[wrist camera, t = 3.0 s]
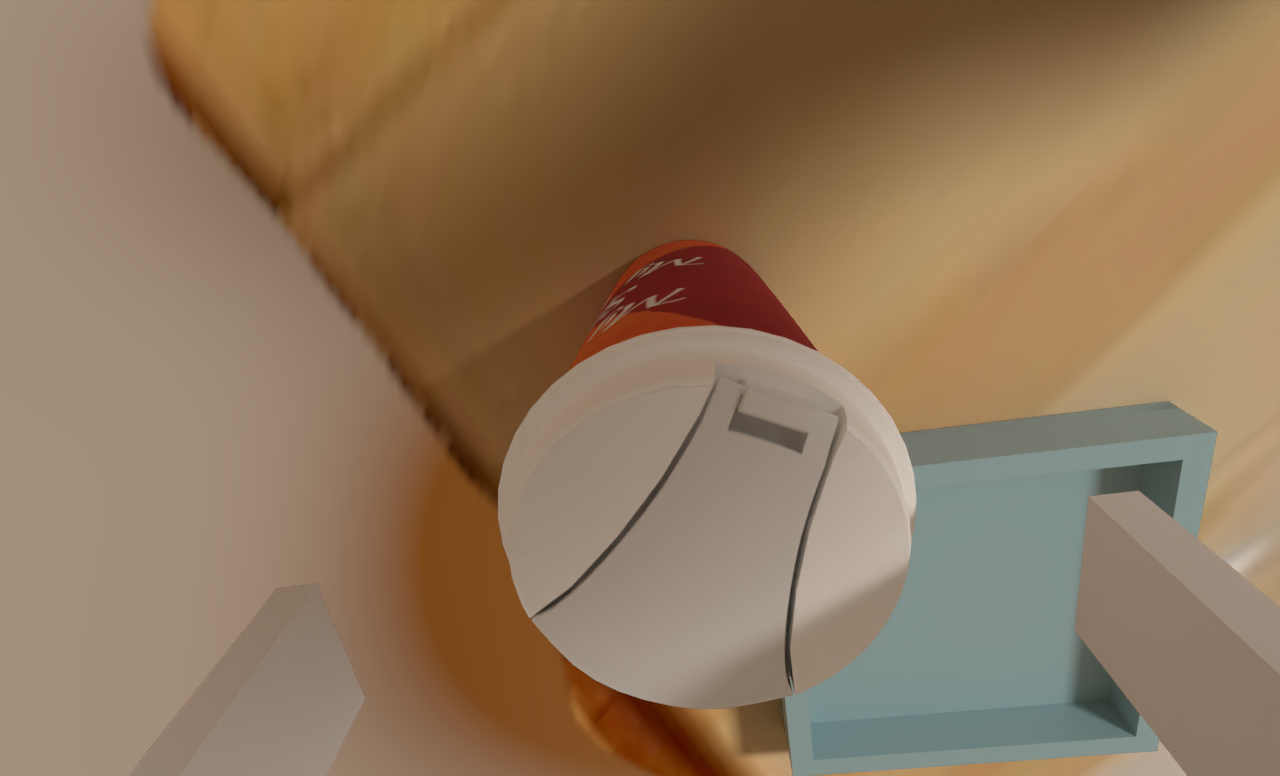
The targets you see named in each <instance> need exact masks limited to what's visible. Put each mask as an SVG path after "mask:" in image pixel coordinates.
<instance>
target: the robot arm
mask: <svg viewBox="0 0 1280 776" xmlns="http://www.w3.org/2000/svg"><path fill="white" fill-rule="evenodd" d="M1075 631H1076V632H1077V634H1078V635H1079V636H1080V638H1081V639H1082V640H1083V641H1084V643H1085V644H1086V645H1087V647H1088V648H1089V649H1090V650H1091V652H1092V653H1093V654H1094V656H1095V657H1096V658H1097V660H1098V661H1099V662H1100V663H1101V665H1102V666H1103V667H1104V669H1105V670H1106V671H1107V672H1108V674H1109V675H1110V676H1111V678H1112V679H1113V680H1114V681H1115V683H1116V684H1117V685H1118V687H1119V688H1120V689H1121V691H1122V692H1123V693H1124V694H1125V696H1126V697H1127V698H1128V700H1129V701H1130V702H1131V703H1132V705H1133V706H1134V707H1135V709H1136V710H1137V711H1138V712H1139V714H1140V715H1141V716H1142V718H1143V719H1144V720H1145V721H1146V723H1147V724H1148V725H1149V727H1150V728H1151V729H1152V731H1153V732H1154V733H1155V734H1156V736H1157V737H1158V738H1159V740H1160V741H1161V742H1162V743H1163V745H1164V746H1165V747H1166V749H1167V750H1168V751H1169V752H1170V754H1171V755H1172V756H1173V758H1174V759H1175V760H1176V762H1177V763H1178V764H1179V765H1180V767H1181V768H1182V769H1183V771H1184V772H1185V773H1186V774H1187V776H1280V606H1279V605H1277V604H1276V603H1275V602H1274V601H1272V600H1271V599H1270V598H1269V597H1268V596H1266V595H1265V594H1264V593H1263V592H1261V591H1260V590H1259V589H1258V588H1257V587H1255V586H1254V585H1253V584H1252V583H1251V582H1249V581H1248V580H1247V579H1246V578H1244V577H1243V576H1242V575H1241V574H1240V573H1238V572H1237V571H1236V570H1235V569H1234V568H1232V567H1231V566H1230V565H1229V564H1227V563H1226V562H1225V561H1224V560H1223V559H1221V558H1220V557H1219V556H1218V555H1217V554H1215V553H1214V552H1213V551H1212V550H1210V549H1209V548H1208V547H1207V546H1206V545H1204V544H1203V543H1202V542H1201V541H1199V540H1198V539H1197V538H1196V537H1195V536H1193V535H1192V534H1191V533H1190V532H1189V531H1187V530H1186V529H1185V528H1184V527H1182V526H1181V525H1180V524H1179V523H1178V522H1176V521H1175V520H1174V519H1173V518H1172V517H1170V516H1169V515H1168V514H1167V513H1165V512H1164V511H1163V510H1162V509H1161V508H1159V507H1158V506H1157V505H1156V504H1155V503H1153V502H1152V501H1151V500H1150V499H1148V498H1147V497H1146V496H1145V495H1144V494H1142V493H1141V492H1140V491H1131V492H1122V493H1113V494H1104V495H1096V496H1089V498H1088V507H1087V517H1086V526H1085V536H1084V545H1083V555H1082V564H1081V574H1080V583H1079V593H1078V602H1077V612H1076V621H1075ZM364 700H365V697H364V695H363V692H362V690H361V687H360V685H359V682H358V680H357V678H356V676H355V673H354V670H353V668H352V666H351V663H350V661H349V658H348V656H347V654H346V651H345V649H344V646H343V644H342V642H341V639H340V637H339V634H338V632H337V630H336V627H335V625H334V622H333V620H332V618H331V615H330V613H329V610H328V608H327V606H326V603H325V601H324V598H323V596H322V594H321V591H320V589H319V586H318V584H310V585H300V586H292V587H283V588H277V589H276V590H275V591H274V593H273V594H272V595H271V596H270V598H269V599H268V600H267V601H266V603H265V604H264V605H263V606H262V608H261V609H260V610H259V612H258V613H257V614H256V615H255V616H254V618H253V619H252V620H251V622H250V623H249V624H248V625H247V627H246V628H245V629H244V630H243V632H242V633H241V634H240V635H239V637H238V638H237V639H236V640H235V642H234V643H233V644H232V646H231V647H230V648H229V649H228V651H227V652H226V653H225V654H224V656H223V657H222V658H221V659H220V661H219V662H218V663H217V664H216V666H215V667H214V668H213V670H212V671H211V672H210V673H209V674H208V676H207V677H206V678H205V680H204V681H203V682H202V683H201V685H200V686H199V687H198V688H197V690H196V691H195V692H194V693H193V695H192V696H191V697H190V698H189V700H188V701H187V702H186V703H185V705H184V706H183V707H182V708H181V710H180V711H179V712H178V714H177V715H176V716H175V717H174V719H173V720H172V721H171V722H170V724H169V725H168V726H167V727H166V729H165V730H164V731H163V733H162V734H161V735H160V736H159V738H158V739H157V740H156V741H155V742H154V744H153V745H152V746H151V748H150V749H149V750H148V751H147V753H146V754H145V755H144V756H143V758H142V759H141V760H140V761H139V763H138V764H137V765H136V767H135V768H134V769H133V770H132V771H131V773H130V774H129V776H327V774H328V772H329V769H330V768H331V766H332V764H333V762H334V760H335V757H336V756H337V754H338V752H339V750H340V748H341V746H342V744H343V742H344V740H345V738H346V736H347V734H348V732H349V730H350V728H351V726H352V724H353V722H354V720H355V718H356V716H357V713H358V712H359V710H360V708H361V706H362V704H363V702H364Z"/></svg>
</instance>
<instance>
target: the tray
mask: <svg viewBox="0 0 1280 776" xmlns="http://www.w3.org/2000/svg"><path fill="white" fill-rule="evenodd" d="M900 435H901V437H902V439H903V441H904V443H905V445H906V447H907V451H908V454H909V458H910V461H911V465H912V468H913V472H914V477H915V489H916V501H917V505H916V514H915V524H914V532H913V535H912V539H911V541H912V542H911V552H910V562H909V570H908V573H907V576H906V580H905V583H904V586H903V590H902V593H901V596H900V598H899V600H898V602H897V604H896V606H895V608H894V610H893V612H892V614H891V616H890V618H889V620H888V622H887V623H886V624H885V626H884V627H883V628H882V630H881V631H880V632H879V634H878V635H877V636H876V638H875V639H874V641H873V642H872V643H871V644H870V645H869V646H868V647H867V648H866V649H865V650H864V651H863V652H862V653H861V654H860V655H859V656H858V657H857V658H856V659H855V660H854V661H853V662H851V663H850V664H849V665H847V666H846V667H844V668H843V669H842V670H840V671H839V672H838V673H836V674H835V675H833V676H832V677H831V678H829V679H827V680H825V681H823V682H821V683H820V684H818V685H816V686H814V687H812V688H810V689H808V690H806V691H804V692H801V693H799V694H796V695H795V693H794V689H793V685H792V681H791V678H790V682H791V687H792V691H793V695H792V696H789V697H784V698H781V700H782V710H783V719H784V728H785V734H786V740H787V746H788V751H789V757H790V763H791V768H792V774H793V776H810V775H824V774H838V773H852V772H867V771H881V770H895V769H909V768H923V767H937V766H952V765H966V764H980V763H994V762H1008V761H1022V760H1037V759H1051V758H1065V757H1079V756H1093V755H1107V754H1122V753H1136V752H1150V751H1157V749H1158V744H1159V738H1158V737H1157V736H1156V734H1155V733H1154V732H1153V731H1152V729H1151V728H1150V727H1149V725H1148V724H1147V723H1146V721H1145V720H1144V719H1143V718H1142V716H1141V715H1140V714H1139V712H1138V711H1137V710H1136V709H1135V707H1134V706H1133V705H1132V703H1131V702H1130V701H1129V700H1128V698H1127V697H1126V696H1125V694H1124V693H1123V692H1122V691H1121V689H1120V688H1119V687H1118V685H1117V684H1116V683H1115V681H1114V680H1113V679H1112V678H1111V676H1110V675H1109V674H1108V672H1107V671H1106V670H1105V669H1104V667H1103V666H1102V665H1101V663H1100V662H1099V661H1098V660H1097V658H1096V657H1095V656H1094V654H1093V653H1092V652H1091V650H1090V649H1089V648H1088V647H1087V645H1086V644H1085V643H1084V641H1083V640H1082V639H1081V638H1080V636H1079V635H1078V634H1077V632H1076V631H1075V621H1076V612H1077V602H1078V593H1079V583H1080V574H1081V564H1082V555H1083V545H1084V536H1085V526H1086V517H1087V507H1088V498H1089V496H1096V495H1104V494H1113V493H1122V492H1131V491H1140V492H1141V493H1142V494H1144V495H1145V496H1146V497H1147V498H1148V499H1150V500H1151V501H1152V502H1153V503H1155V504H1156V505H1157V506H1158V507H1159V508H1161V509H1162V510H1163V511H1164V512H1165V513H1167V514H1168V515H1169V516H1170V517H1172V518H1173V519H1174V520H1175V521H1176V522H1178V523H1179V524H1180V525H1181V526H1182V527H1184V528H1185V529H1186V530H1187V531H1189V532H1190V533H1191V534H1192V535H1193V536H1195V537H1196V538H1197V537H1198V532H1199V527H1200V521H1201V516H1202V511H1203V505H1204V500H1205V495H1206V490H1207V484H1208V479H1209V474H1210V468H1211V463H1212V458H1213V453H1214V447H1215V442H1216V437H1217V431H1215V430H1214V429H1212V428H1210V427H1209V426H1207V425H1206V424H1204V423H1202V422H1201V421H1199V420H1198V419H1196V418H1194V417H1193V416H1191V415H1190V414H1188V413H1186V412H1185V411H1183V410H1182V409H1180V408H1178V407H1177V406H1175V405H1174V404H1172V403H1170V402H1169V401H1167V402H1159V403H1150V404H1142V405H1134V406H1125V407H1117V408H1108V409H1100V410H1091V411H1083V412H1075V413H1066V414H1058V415H1049V416H1041V417H1033V418H1024V419H1016V420H1007V421H999V422H990V423H982V424H974V425H965V426H957V427H948V428H940V429H931V430H923V431H915V432H906V433H900Z"/></svg>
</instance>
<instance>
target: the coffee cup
mask: <svg viewBox="0 0 1280 776" xmlns="http://www.w3.org/2000/svg"><path fill="white" fill-rule="evenodd" d="M916 505H917V501H916V489H915V477H914V472H913V468H912V465H911V461H910V458H909V454H908V451H907V447H906V445H905V443H904V441H903V439H902V437H901V435H900V433H899V431H898V429H897V427H896V425H895V423H894V421H893V419H892V418H891V416H890V415H889V414H888V412H887V411H886V410H885V409H884V407H883V406H882V405H881V403H880V402H879V401H878V399H877V398H876V397H875V396H874V394H873V393H872V392H871V391H870V390H869V389H868V388H867V387H866V386H864V385H863V384H862V383H861V382H860V381H859V380H858V379H857V378H856V377H855V376H853V375H852V374H851V373H850V372H849V371H848V370H847V369H845V368H843V367H842V366H840V365H839V364H837V363H836V362H834V361H832V360H831V359H829V358H828V357H826V356H825V355H823V354H821V353H820V352H818V351H817V349H816V348H815V347H814V346H813V344H812V343H811V342H810V340H809V339H808V338H807V336H806V335H805V334H804V333H803V331H802V330H801V329H800V327H799V326H798V325H797V323H796V322H795V321H794V319H793V318H792V317H791V316H790V314H789V313H788V312H787V310H786V309H785V308H784V307H783V305H782V304H781V303H780V302H779V300H778V299H777V298H776V296H775V295H774V294H773V293H772V291H771V290H770V289H769V288H768V286H767V285H766V284H765V283H764V282H763V280H762V279H761V278H760V277H759V276H758V274H757V273H756V272H755V271H754V270H753V269H752V268H751V267H750V266H749V265H748V264H747V263H746V262H745V261H744V260H743V259H741V258H740V257H739V256H738V255H736V254H735V253H733V252H732V251H730V250H728V249H726V248H724V247H722V246H719V245H717V244H713V243H710V242H705V241H699V240H681V241H675V242H670V243H666V244H663V245H660V246H658V247H656V248H654V249H652V250H650V251H648V252H646V253H645V254H643V255H642V256H641V257H639V258H638V259H637V260H636V261H635V262H634V263H632V265H631V266H630V267H629V268H628V269H627V270H626V271H625V273H624V274H623V275H622V276H621V278H620V279H619V281H618V282H617V284H616V285H615V287H614V289H613V290H612V292H611V294H610V296H609V297H608V299H607V301H606V303H605V304H604V306H603V308H602V310H601V311H600V313H599V315H598V317H597V319H596V321H595V322H594V324H593V326H592V328H591V330H590V332H589V333H588V335H587V337H586V339H585V341H584V343H583V345H582V346H581V348H580V350H579V352H578V354H577V356H576V358H575V360H574V361H573V363H572V365H571V367H570V369H569V371H568V372H567V373H566V374H565V375H563V376H562V377H561V378H560V379H558V380H557V381H556V382H555V383H553V384H552V385H551V386H550V387H549V388H548V390H547V391H546V392H545V393H544V394H543V395H542V396H541V397H540V398H539V400H538V401H537V402H536V403H535V404H534V405H533V406H532V407H531V409H530V410H529V412H528V413H527V415H526V417H525V418H524V420H523V422H522V423H521V425H520V426H519V428H518V430H517V431H516V433H515V435H514V437H513V440H512V442H511V445H510V447H509V450H508V452H507V455H506V457H505V460H504V462H503V467H502V472H501V478H500V483H499V488H498V521H499V526H500V532H501V537H502V543H503V547H504V549H505V552H506V555H507V557H508V560H509V563H510V568H511V574H512V580H513V583H514V585H515V588H516V591H517V593H518V596H519V599H520V601H521V604H522V606H523V608H524V610H525V611H526V613H527V615H528V616H529V618H531V617H532V616H533V618H532V622H533V623H534V624H535V625H536V626H537V627H538V628H539V630H540V631H541V632H542V633H543V634H544V635H545V636H546V637H547V638H548V640H549V641H550V642H551V643H552V644H553V645H554V646H555V647H556V648H557V649H558V650H559V651H560V652H561V653H562V654H563V655H564V656H565V657H566V658H567V659H568V660H569V661H570V662H571V663H572V664H573V665H574V666H576V667H577V668H578V669H580V670H581V671H583V672H584V673H586V674H587V675H588V676H590V677H591V678H593V679H594V680H596V681H598V682H600V683H602V684H604V685H606V686H608V687H611V688H613V689H615V690H617V691H619V692H622V693H625V694H628V695H631V696H634V697H637V698H640V699H643V700H647V701H652V702H656V703H661V704H665V705H670V706H675V707H684V708H693V709H726V708H733V707H739V706H745V705H751V704H757V703H762V702H766V701H771V700H775V699H780V698H784V697H789V696H792V695H793V691H792V687H791V682H790V678H791V681H792V685H793V689H794V693H795V695H796V694H799V693H801V692H804V691H806V690H808V689H810V688H812V687H814V686H816V685H818V684H820V683H821V682H823V681H825V680H827V679H829V678H831V677H832V676H833V675H835V674H836V673H838V672H839V671H840V670H842V669H843V668H844V667H846V666H847V665H849V664H850V663H851V662H853V661H854V660H855V659H856V658H857V657H858V656H859V655H860V654H861V653H862V652H863V651H864V650H865V649H866V648H867V647H868V646H869V645H870V644H871V643H872V642H873V641H874V639H875V638H876V636H877V635H878V634H879V632H880V631H881V630H882V628H883V627H884V626H885V624H886V623H887V622H888V620H889V618H890V616H891V614H892V612H893V610H894V608H895V606H896V604H897V602H898V600H899V598H900V596H901V593H902V590H903V586H904V583H905V580H906V576H907V573H908V570H909V562H910V552H911V542H912V541H911V539H912V535H913V532H914V524H915V514H916Z"/></svg>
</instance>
